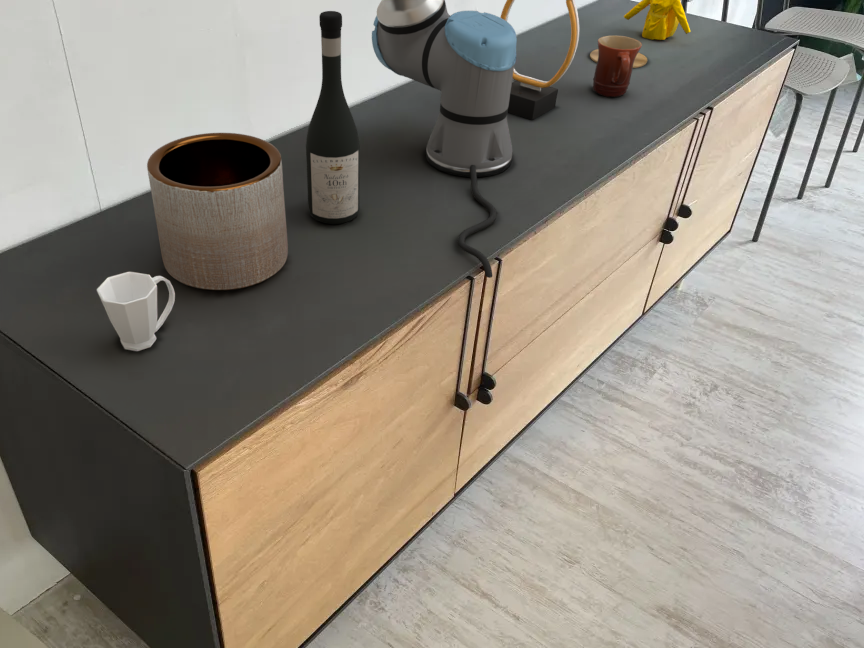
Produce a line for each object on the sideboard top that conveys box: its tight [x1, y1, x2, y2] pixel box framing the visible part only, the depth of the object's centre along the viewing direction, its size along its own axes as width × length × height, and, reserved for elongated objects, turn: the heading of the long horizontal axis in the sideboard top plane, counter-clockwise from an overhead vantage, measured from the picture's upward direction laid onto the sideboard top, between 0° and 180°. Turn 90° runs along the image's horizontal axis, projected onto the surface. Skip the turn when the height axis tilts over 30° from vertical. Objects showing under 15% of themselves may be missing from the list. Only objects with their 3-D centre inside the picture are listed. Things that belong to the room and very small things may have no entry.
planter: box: [146, 132, 289, 292], centre depth 107 cm, size 18×18×16 cm
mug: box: [592, 35, 643, 98], centre depth 161 cm, size 12×9×10 cm
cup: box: [96, 271, 176, 352], centre depth 96 cm, size 7×10×8 cm
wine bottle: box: [305, 10, 361, 225], centre depth 114 cm, size 8×8×30 cm
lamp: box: [499, 0, 580, 121], centre depth 148 cm, size 17×9×32 cm, turn 50°
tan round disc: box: [589, 48, 648, 69], centre depth 181 cm, size 13×13×1 cm
